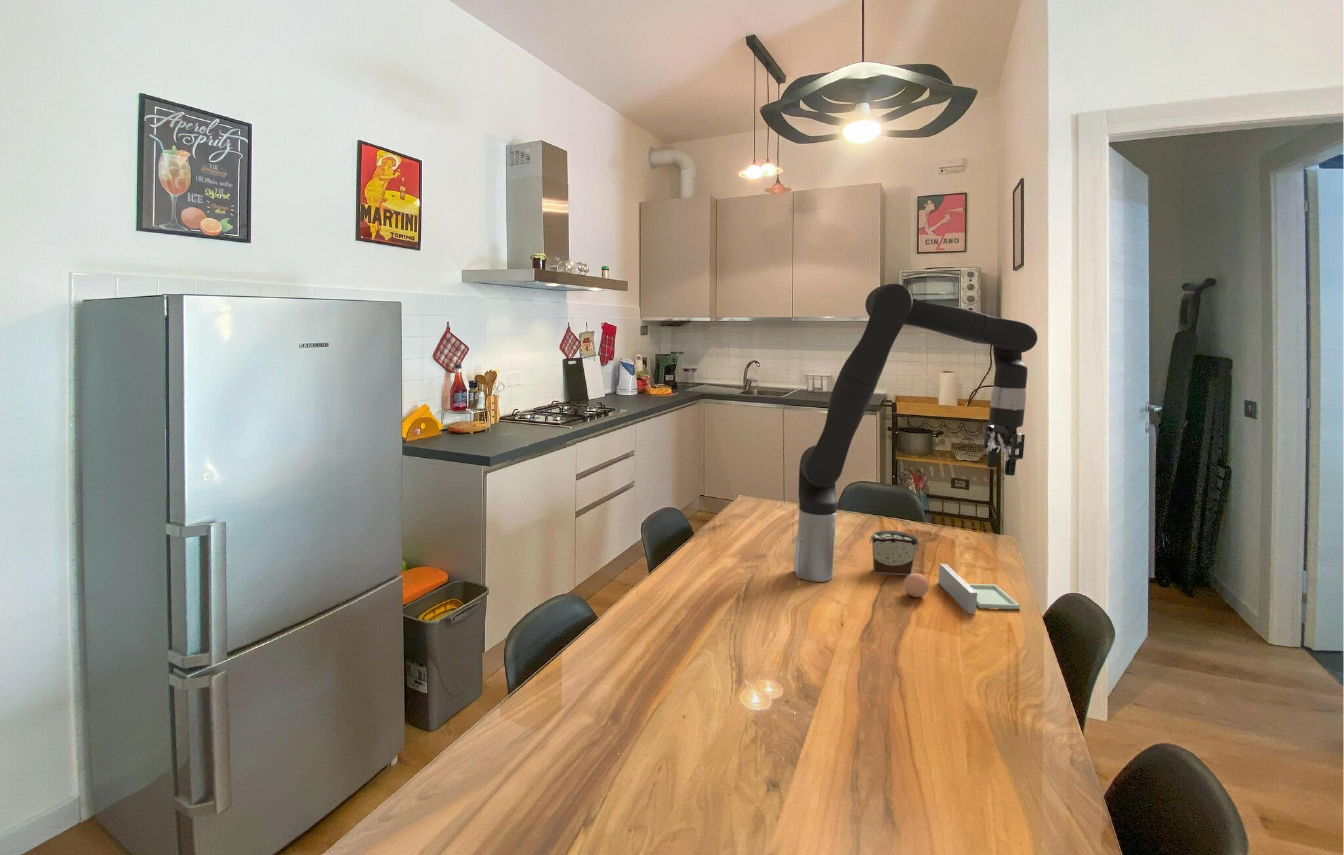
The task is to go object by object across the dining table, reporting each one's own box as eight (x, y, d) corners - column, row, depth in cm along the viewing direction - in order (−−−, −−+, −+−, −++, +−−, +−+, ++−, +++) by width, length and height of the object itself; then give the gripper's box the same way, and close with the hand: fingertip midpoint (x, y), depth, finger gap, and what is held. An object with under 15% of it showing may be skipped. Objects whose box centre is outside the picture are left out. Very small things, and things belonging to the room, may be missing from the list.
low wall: (968, 613, 146) (970, 592, 145) (938, 582, 164) (939, 563, 163) (975, 614, 146) (977, 592, 145) (944, 582, 164) (946, 563, 163)
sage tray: (979, 608, 149) (979, 603, 149) (958, 588, 161) (958, 583, 161) (1019, 610, 149) (1019, 605, 149) (995, 589, 161) (995, 584, 160)
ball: (907, 600, 153) (909, 578, 152) (899, 591, 158) (901, 569, 157) (931, 601, 152) (933, 578, 152) (922, 591, 158) (924, 570, 157)
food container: (910, 567, 174) (913, 531, 173) (916, 575, 168) (920, 538, 167) (863, 564, 176) (866, 528, 174) (867, 572, 170) (870, 535, 168)
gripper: (978, 402, 166) (971, 464, 168) (1007, 409, 151) (999, 477, 154) (1007, 403, 166) (1000, 465, 168) (1039, 410, 152) (1031, 478, 154)
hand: (1000, 471), depth 161 cm, fingers open, 8 cm apart
